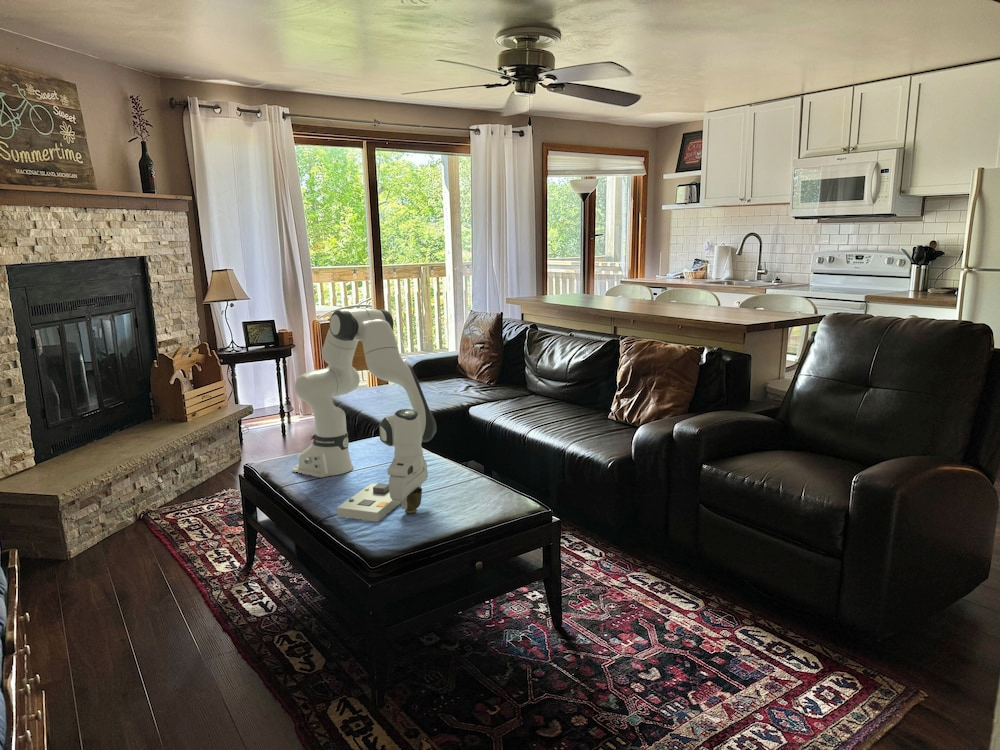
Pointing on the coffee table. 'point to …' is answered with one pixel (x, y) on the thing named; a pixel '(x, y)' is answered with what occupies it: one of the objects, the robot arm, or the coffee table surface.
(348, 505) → the panel
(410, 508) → the brown textured goblet
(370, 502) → the block
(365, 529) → the coffee table surface
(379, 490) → the block
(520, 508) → the coffee table surface
